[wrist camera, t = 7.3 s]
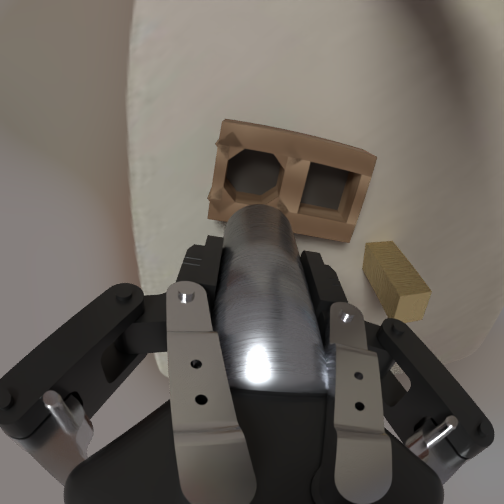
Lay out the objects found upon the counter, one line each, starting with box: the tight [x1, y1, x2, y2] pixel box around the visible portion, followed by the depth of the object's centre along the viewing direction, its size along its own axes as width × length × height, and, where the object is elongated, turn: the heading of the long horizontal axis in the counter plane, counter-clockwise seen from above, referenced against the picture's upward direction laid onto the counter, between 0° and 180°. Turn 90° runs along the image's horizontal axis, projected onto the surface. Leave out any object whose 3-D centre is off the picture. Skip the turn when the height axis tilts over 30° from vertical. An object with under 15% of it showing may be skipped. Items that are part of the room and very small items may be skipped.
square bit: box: [362, 241, 432, 323], centre depth 29 cm, size 4×4×10 cm
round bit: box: [210, 204, 329, 393], centre depth 11 cm, size 4×4×10 cm
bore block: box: [207, 119, 377, 243], centre depth 27 cm, size 9×14×4 cm, turn 80°
